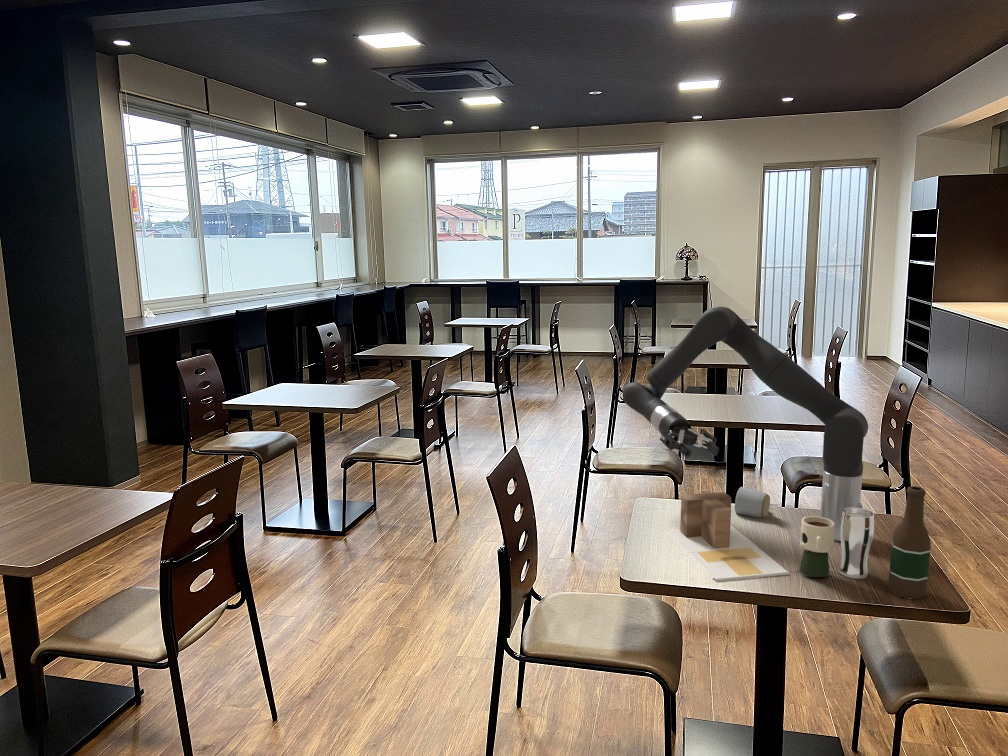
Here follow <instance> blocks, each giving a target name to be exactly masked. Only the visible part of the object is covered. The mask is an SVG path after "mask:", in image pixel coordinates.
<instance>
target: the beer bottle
mask: <svg viewBox="0 0 1008 756" xmlns="http://www.w3.org/2000/svg"><path fill="white" fill-rule="evenodd" d="M906 493H907V498H906V504H905V510H904V515H903V518H902V521H901V522H900V523H898V525H896V527H895V529H894V531H893V533H892V540H891V550H890V558H889V559H890V561H889V571H888V590H889V592H890V593H891V592H892V593H891V594H893V593H894V594H893V595H895V594H896V595H895V596H897V595H898V596H897V597H899V596H900V597H899V598H901V597H905V598H904V599H907V598H911V599H910V600H913V599H916V600H919V599H918V598H920V599H923V598H922V597H924V598H925V597H926V593H927V590H928V589H927V587H928V579H929V568H930V560H931V559H930V558H931V550H932V549H931V547H932V545H931V539H930V536H929V535H930V534H929V531H928V529H927V528H926V526H925V521H924V513H925V511H924V510H925V509H924V507H925V506H924V505H925V496H926V495H927V493H926V489H925V488H923V487H920V486H915V485H913V486H908V487H907V489H906Z"/></svg>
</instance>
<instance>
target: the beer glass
mask: <svg viewBox="0 0 1008 756" xmlns="http://www.w3.org/2000/svg"><path fill="white" fill-rule="evenodd" d="M874 532H875V513H874V511H872V510H869V509H867V508H863V507H862V508H858V507H848V508H844V509H843V513H842V519H841V526H840V538H841V541H840V546H841V562H840V564H839V568H838V569H839V570H838V571H839V573H840V574H841V575H842V576H844V577H846V578H850V579H855V580H857V579H858V580H863V579H865V578H867V577H868V574H869V573H868V570H869V569H868V557H869V553H870V551H871V547H872V544H873V540H874V539H873V538H874Z"/></svg>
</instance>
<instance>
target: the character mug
mask: <svg viewBox="0 0 1008 756" xmlns="http://www.w3.org/2000/svg"><path fill="white" fill-rule="evenodd" d="M800 525H801V526H800V536H799V539H800V540H799V544H800V547H802V548H803V549H804V550H803V552H802V553H803V554H802V557H801V562H800V566H799V569H800V574H801V573H802V574H803V575H804V576H807V577H810V578H811V577H812V578H824V577H828V576H830V563H829V562H830V561H829V554H828V553H830V552H832V551H833V549H834V541H835V540H834V530H835V523H834V522H833V521H832V520H830V519H827V518H824V517H820V516H818V515H810V516H804V517H803V518H801V524H800Z"/></svg>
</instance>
